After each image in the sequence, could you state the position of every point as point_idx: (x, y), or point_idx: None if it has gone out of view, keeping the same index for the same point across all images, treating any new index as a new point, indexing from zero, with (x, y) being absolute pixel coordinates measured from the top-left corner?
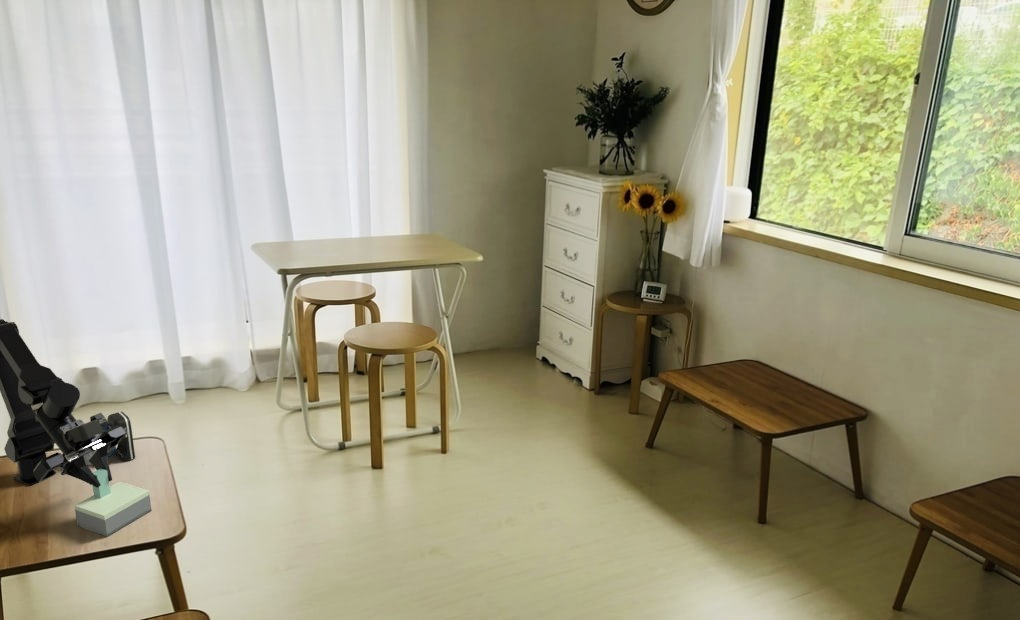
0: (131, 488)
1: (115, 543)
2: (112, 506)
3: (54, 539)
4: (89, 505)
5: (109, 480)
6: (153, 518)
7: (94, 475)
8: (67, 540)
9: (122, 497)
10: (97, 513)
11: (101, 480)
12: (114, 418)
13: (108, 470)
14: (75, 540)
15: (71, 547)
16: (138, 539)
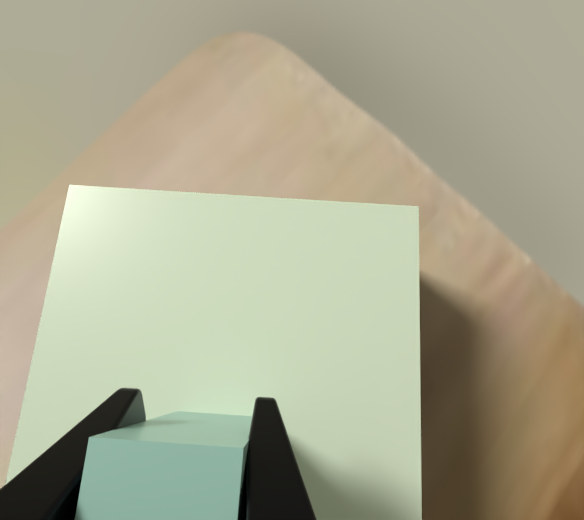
0: (74, 319)
1: (404, 179)
2: (313, 248)
3: (524, 493)
4: (370, 412)
5: (143, 407)
6: (180, 178)
7: (250, 492)
8: (496, 414)
9: (198, 278)
10: (418, 269)
11: (211, 431)
12: None
13: (61, 455)
14: (476, 374)
15: (523, 340)
16: (339, 116)
